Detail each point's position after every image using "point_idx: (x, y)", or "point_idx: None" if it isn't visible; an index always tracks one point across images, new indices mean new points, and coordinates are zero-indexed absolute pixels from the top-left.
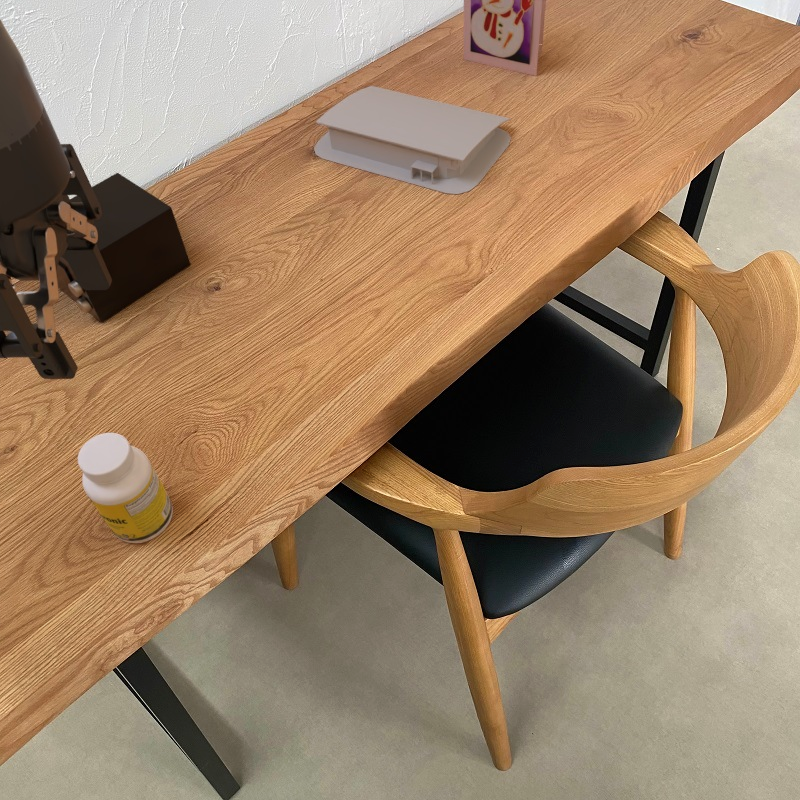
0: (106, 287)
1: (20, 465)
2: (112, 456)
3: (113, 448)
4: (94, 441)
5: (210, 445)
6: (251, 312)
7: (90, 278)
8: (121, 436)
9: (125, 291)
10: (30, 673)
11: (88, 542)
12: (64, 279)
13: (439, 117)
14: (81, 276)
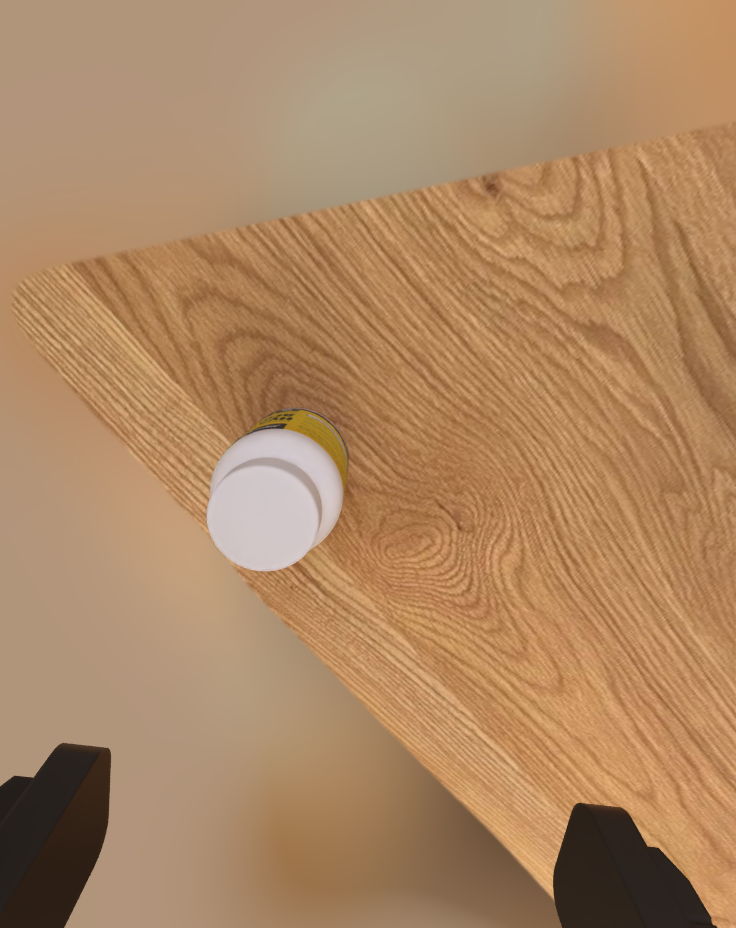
0: (557, 887)
1: (446, 212)
2: (251, 539)
3: (271, 540)
4: (297, 497)
5: (425, 552)
6: (716, 610)
7: (589, 908)
8: (302, 553)
9: None
10: (36, 310)
11: (261, 370)
12: None
13: None
14: (606, 891)
